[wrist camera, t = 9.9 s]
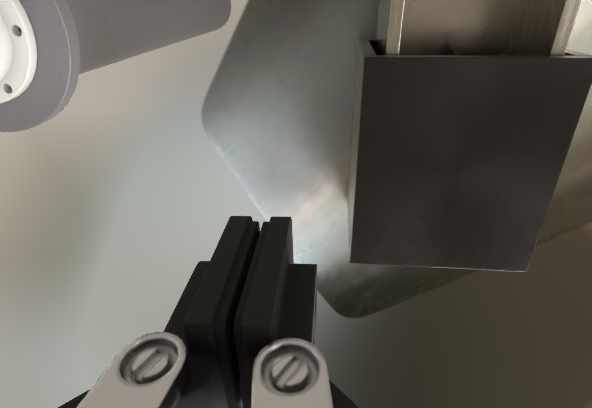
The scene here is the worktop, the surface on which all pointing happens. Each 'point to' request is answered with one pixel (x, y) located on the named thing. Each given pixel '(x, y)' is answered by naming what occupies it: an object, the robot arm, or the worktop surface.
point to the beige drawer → (475, 27)
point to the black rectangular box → (458, 155)
